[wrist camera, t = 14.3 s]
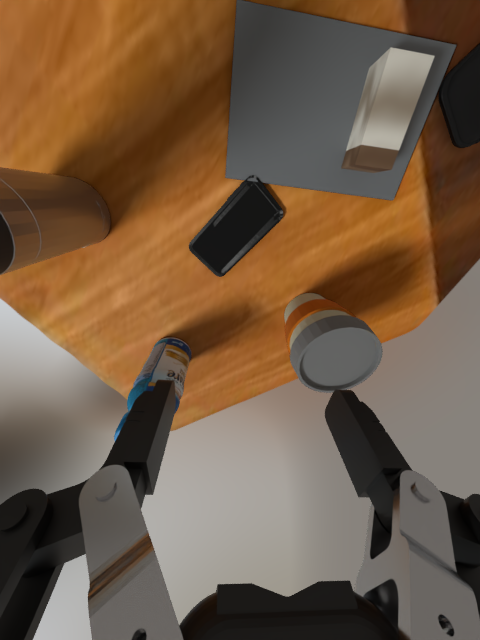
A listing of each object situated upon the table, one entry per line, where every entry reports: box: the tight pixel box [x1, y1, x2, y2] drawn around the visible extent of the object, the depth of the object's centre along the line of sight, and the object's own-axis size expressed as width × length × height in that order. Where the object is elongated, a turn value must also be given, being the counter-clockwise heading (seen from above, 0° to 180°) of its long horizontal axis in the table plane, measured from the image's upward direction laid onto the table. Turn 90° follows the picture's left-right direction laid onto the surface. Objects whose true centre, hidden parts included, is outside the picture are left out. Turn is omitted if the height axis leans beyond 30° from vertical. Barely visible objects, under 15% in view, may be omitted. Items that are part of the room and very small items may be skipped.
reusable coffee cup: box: [284, 293, 382, 393], centre depth 36 cm, size 12×13×15 cm
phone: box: [189, 175, 283, 277], centre depth 35 cm, size 8×1×15 cm
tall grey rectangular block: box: [341, 47, 435, 173], centre depth 27 cm, size 10×5×4 cm, turn 174°
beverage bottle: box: [114, 337, 191, 441], centre depth 38 cm, size 8×8×20 cm
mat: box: [225, 0, 456, 200], centre depth 28 cm, size 26×16×1 cm, turn 84°
